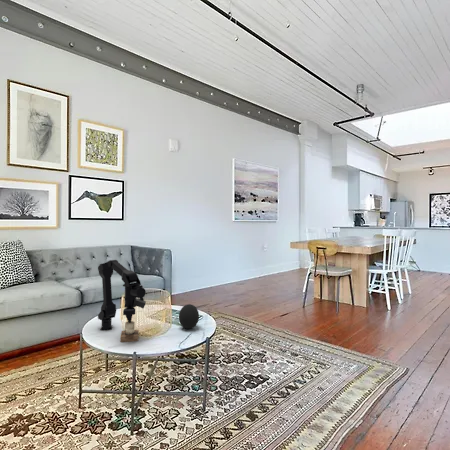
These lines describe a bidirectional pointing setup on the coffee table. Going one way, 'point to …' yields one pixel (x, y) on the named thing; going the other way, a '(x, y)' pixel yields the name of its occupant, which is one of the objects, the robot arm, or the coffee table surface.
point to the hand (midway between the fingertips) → (129, 322)
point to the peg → (129, 328)
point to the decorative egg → (189, 316)
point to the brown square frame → (129, 336)
